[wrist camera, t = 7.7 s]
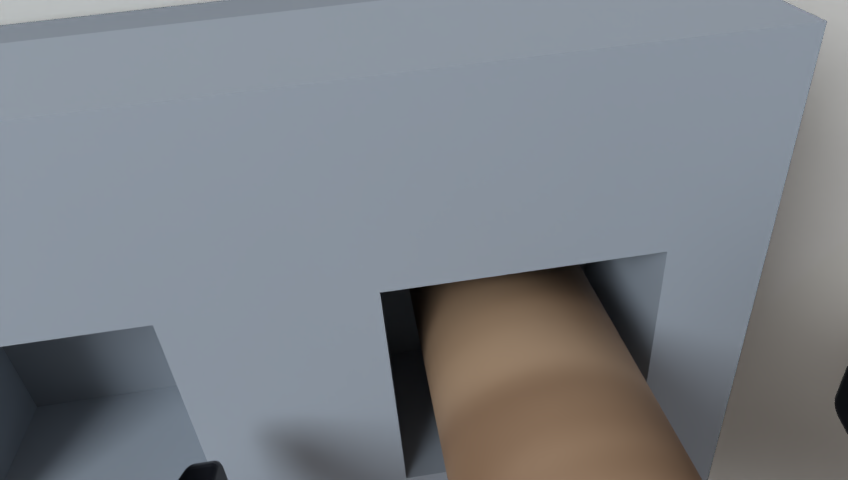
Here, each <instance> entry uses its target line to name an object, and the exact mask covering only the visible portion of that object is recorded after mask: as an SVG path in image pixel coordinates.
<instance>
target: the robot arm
mask: <svg viewBox="0 0 848 480" xmlns="http://www.w3.org/2000/svg"><path fill="white" fill-rule="evenodd" d="M835 409H836V412H837V415H838V417H839V419H840V421H841V423H842V425H843V426H844V428H845V430H846V432H847V434H848V366H847V368H846V370H845V373H844V376H843V378H842V381H841V383H840V386H839V389H838V391H837V394H836V397H835ZM178 480H228V478H227V476H226V473H225V470H224V468H223V466H222V464H221V463H220V462H219V461H215V460H214V461H207V462H201V463H195V464H192V465H190V466H188V467H187V468H186V469H185V471H184V472H183V473H182V475H181V476H180V478H179V479H178Z"/></svg>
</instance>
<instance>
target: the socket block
mask: <svg viewBox="0 0 848 480" xmlns="http://www.w3.org/2000/svg"><path fill="white" fill-rule="evenodd" d="M826 23H827V21H826V20H823V19H821V18H819V17H817V16H815V15H813V14H810V13H808V12H806V11H804V10H802V9H800V8H798V7H795V6H793V5H791V4H789V3H787V2H785V1H783V0H225V1H216V2H207V3H198V4H189V5H180V6H171V7H162V8H153V9H144V10H135V11H126V12H117V13H108V14H99V15H90V16H81V17H72V18H63V19H54V20H45V21H36V22H27V23H18V24H9V25H0V480H178V479H179V478H180V476H181V475H182V473H183V472H184V471H185V469H186V468H187V467H188V466H190V465H192V464H195V463H201V462H207V461H214V460H215V461H219V462H220V463H221V464H222V466H223V468H224V470H225V473H226V476H227V478H228V480H448V478H447V473H446V468H445V463H444V458H443V453H442V449H441V444H440V439H439V434H438V429H437V424H436V419H435V414H434V409H433V404H432V399H431V394H430V389H429V384H428V379H427V375H426V370H425V365H424V360H423V355H422V350H421V345H420V340H419V335H418V330H417V325H416V320H415V315H414V310H413V305H412V300H411V296H410V291H409V288H416V287H423V286H430V285H437V284H444V283H451V282H458V281H465V280H472V279H479V278H486V277H493V276H500V275H507V274H514V273H521V272H528V271H535V270H542V269H549V268H556V267H563V266H570V265H577V264H579V265H580V267H581V269H582V270H583V272H584V274H585V276H586V277H587V279H588V281H589V283H590V284H591V286H592V288H593V290H594V291H595V293H596V295H597V297H598V298H599V300H600V302H601V304H602V305H603V307H604V309H605V311H606V312H607V314H608V316H609V318H610V319H611V321H612V323H613V325H614V326H615V328H616V330H617V332H618V333H619V335H620V337H621V339H622V340H623V342H624V344H625V345H626V347H627V349H628V351H629V352H630V354H631V356H632V358H633V359H634V361H635V363H636V365H637V366H638V368H639V370H640V372H641V373H642V375H643V377H644V379H645V380H646V382H647V384H648V386H649V387H650V389H651V391H652V393H653V394H654V396H655V398H656V400H657V401H658V403H659V405H660V407H661V408H662V410H663V412H664V414H665V415H666V417H667V419H668V421H669V422H670V424H671V426H672V428H673V429H674V431H675V433H676V435H677V436H678V438H679V440H680V442H681V443H682V445H683V447H684V449H685V450H686V452H687V454H688V456H689V457H690V459H691V461H692V463H693V464H694V466H695V468H696V470H697V471H698V473H699V475H700V477H701V478H702V480H708V476H709V473H710V469H711V465H712V461H713V457H714V453H715V450H716V446H717V442H718V438H719V434H720V430H721V426H722V423H723V419H724V415H725V411H726V407H727V403H728V400H729V396H730V392H731V388H732V384H733V380H734V377H735V373H736V369H737V365H738V361H739V357H740V354H741V350H742V346H743V342H744V338H745V334H746V331H747V327H748V323H749V319H750V315H751V311H752V307H753V304H754V300H755V296H756V292H757V288H758V284H759V281H760V277H761V273H762V269H763V265H764V261H765V258H766V254H767V250H768V246H769V242H770V238H771V235H772V231H773V227H774V223H775V219H776V215H777V211H778V208H779V204H780V200H781V196H782V192H783V188H784V185H785V181H786V177H787V173H788V169H789V165H790V162H791V158H792V154H793V150H794V146H795V142H796V139H797V135H798V131H799V127H800V123H801V119H802V116H803V112H804V108H805V104H806V100H807V96H808V92H809V89H810V85H811V81H812V77H813V73H814V69H815V66H816V62H817V58H818V54H819V50H820V46H821V43H822V39H823V35H824V31H825V27H826Z"/></svg>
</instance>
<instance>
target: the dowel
mask: <svg viewBox="0 0 848 480" xmlns="http://www.w3.org/2000/svg"><path fill="white" fill-rule="evenodd" d="M409 291H410V296H411V300H412V305H413V310H414V315H415V320H416V325H417V330H418V335H419V340H420V345H421V350H422V355H423V360H424V365H425V370H426V375H427V379H428V384H429V389H430V394H431V399H432V404H433V409H434V414H435V419H436V424H437V429H438V434H439V439H440V444H441V449H442V453H443V458H444V463H445V468H446V473H447V478H448V480H702V478H701V477H700V475H699V473H698V471H697V470H696V468H695V466H694V464H693V463H692V461H691V459H690V457H689V456H688V454H687V452H686V450H685V449H684V447H683V445H682V443H681V442H680V440H679V438H678V436H677V435H676V433H675V431H674V429H673V428H672V426H671V424H670V422H669V421H668V419H667V417H666V415H665V414H664V412H663V410H662V408H661V407H660V405H659V403H658V401H657V400H656V398H655V396H654V394H653V393H652V391H651V389H650V387H649V386H648V384H647V382H646V380H645V379H644V377H643V375H642V373H641V372H640V370H639V368H638V366H637V365H636V363H635V361H634V359H633V358H632V356H631V354H630V352H629V351H628V349H627V347H626V345H625V344H624V342H623V340H622V339H621V337H620V335H619V333H618V332H617V330H616V328H615V326H614V325H613V323H612V321H611V319H610V318H609V316H608V314H607V312H606V311H605V309H604V307H603V305H602V304H601V302H600V300H599V298H598V297H597V295H596V293H595V291H594V290H593V288H592V286H591V284H590V283H589V281H588V279H587V277H586V276H585V274H584V272H583V270H582V269H581V267H580V265H579V264H577V265H570V266H563V267H556V268H549V269H542V270H535V271H528V272H521V273H514V274H507V275H500V276H493V277H486V278H479V279H472V280H465V281H458V282H451V283H444V284H437V285H430V286H423V287H416V288H409Z"/></svg>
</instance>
